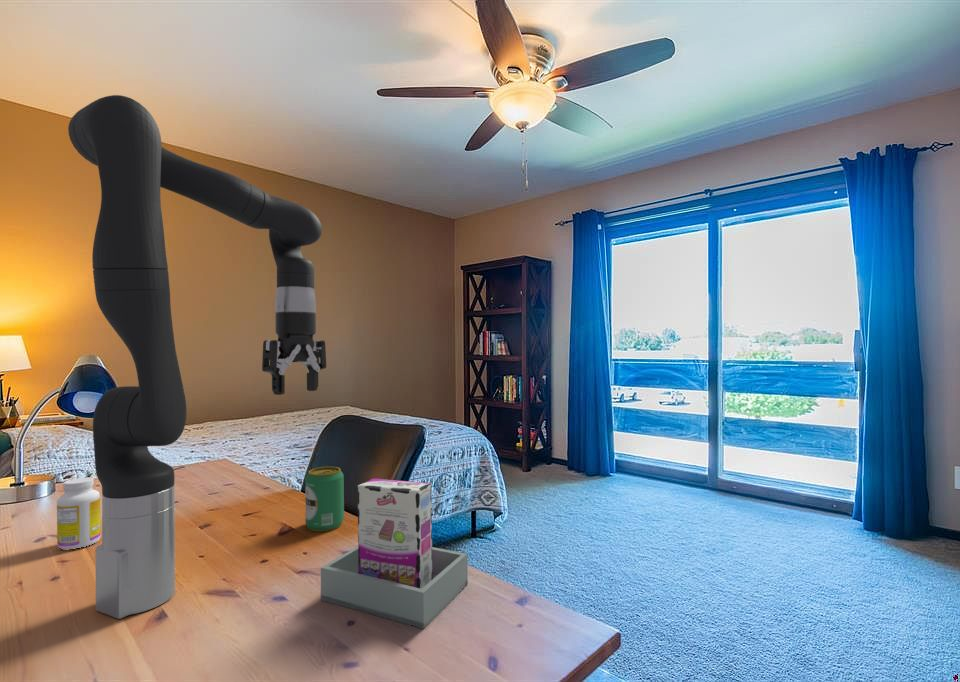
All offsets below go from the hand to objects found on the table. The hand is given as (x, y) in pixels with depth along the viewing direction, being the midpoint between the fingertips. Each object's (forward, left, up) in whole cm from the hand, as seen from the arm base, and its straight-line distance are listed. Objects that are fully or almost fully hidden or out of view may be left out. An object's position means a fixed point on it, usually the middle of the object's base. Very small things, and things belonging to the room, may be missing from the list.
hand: (296, 392), depth 96 cm
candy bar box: (-7, -29, -30) cm, 42 cm away
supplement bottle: (-18, +40, -30) cm, 53 cm away
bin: (-7, -29, -30) cm, 42 cm away
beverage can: (+10, +2, -30) cm, 32 cm away
